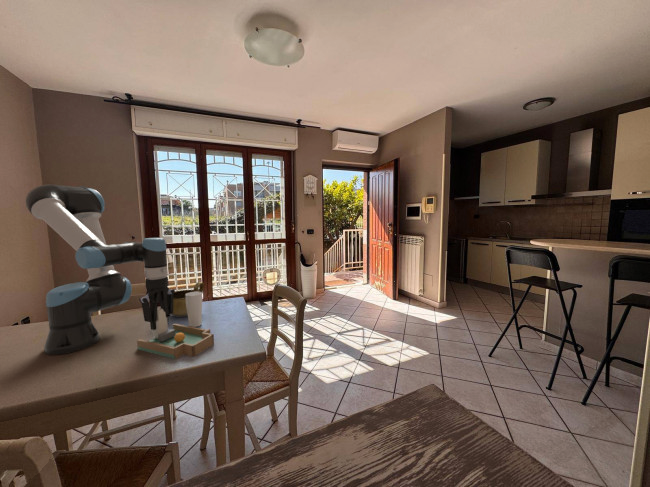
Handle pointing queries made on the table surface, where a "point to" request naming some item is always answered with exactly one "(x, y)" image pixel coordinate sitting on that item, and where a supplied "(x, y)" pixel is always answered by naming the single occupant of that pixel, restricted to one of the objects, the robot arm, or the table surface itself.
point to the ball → (179, 337)
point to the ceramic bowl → (183, 300)
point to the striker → (163, 326)
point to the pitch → (179, 343)
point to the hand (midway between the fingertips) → (160, 334)
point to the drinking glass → (194, 308)
